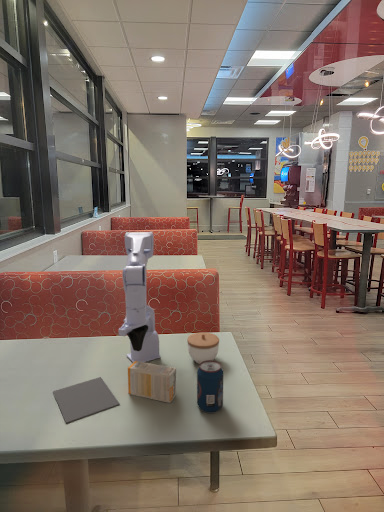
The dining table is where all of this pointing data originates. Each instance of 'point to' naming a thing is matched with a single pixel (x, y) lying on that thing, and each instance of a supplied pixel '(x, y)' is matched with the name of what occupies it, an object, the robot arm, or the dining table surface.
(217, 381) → the soda can
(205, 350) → the lidded jar
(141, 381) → the supplement box
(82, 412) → the mat
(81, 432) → the dining table surface
